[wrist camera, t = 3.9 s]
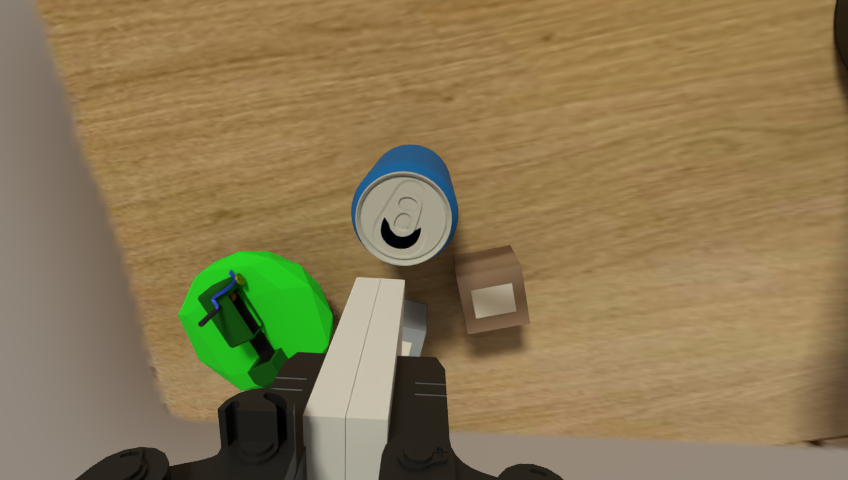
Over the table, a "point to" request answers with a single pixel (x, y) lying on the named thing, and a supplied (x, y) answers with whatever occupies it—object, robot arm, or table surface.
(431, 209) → the beverage can
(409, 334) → the slate block
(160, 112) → the table surface
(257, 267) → the green toy boat
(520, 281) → the walnut block
